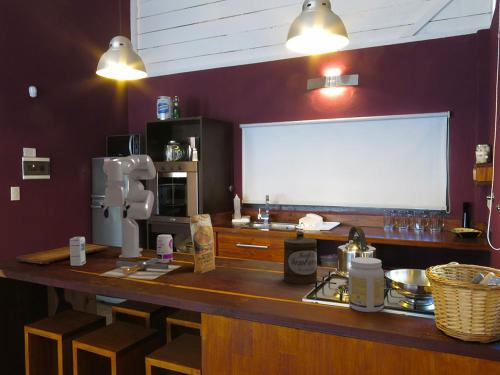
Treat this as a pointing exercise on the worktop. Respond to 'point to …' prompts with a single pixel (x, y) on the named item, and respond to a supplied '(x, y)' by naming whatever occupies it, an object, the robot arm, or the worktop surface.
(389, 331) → the worktop surface
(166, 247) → the supplement can
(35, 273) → the worktop surface
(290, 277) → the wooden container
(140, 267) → the capstan
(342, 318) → the worktop surface
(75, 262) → the syrup box
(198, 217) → the pancake mix bag
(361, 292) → the supplement tub
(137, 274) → the striped dish towel
